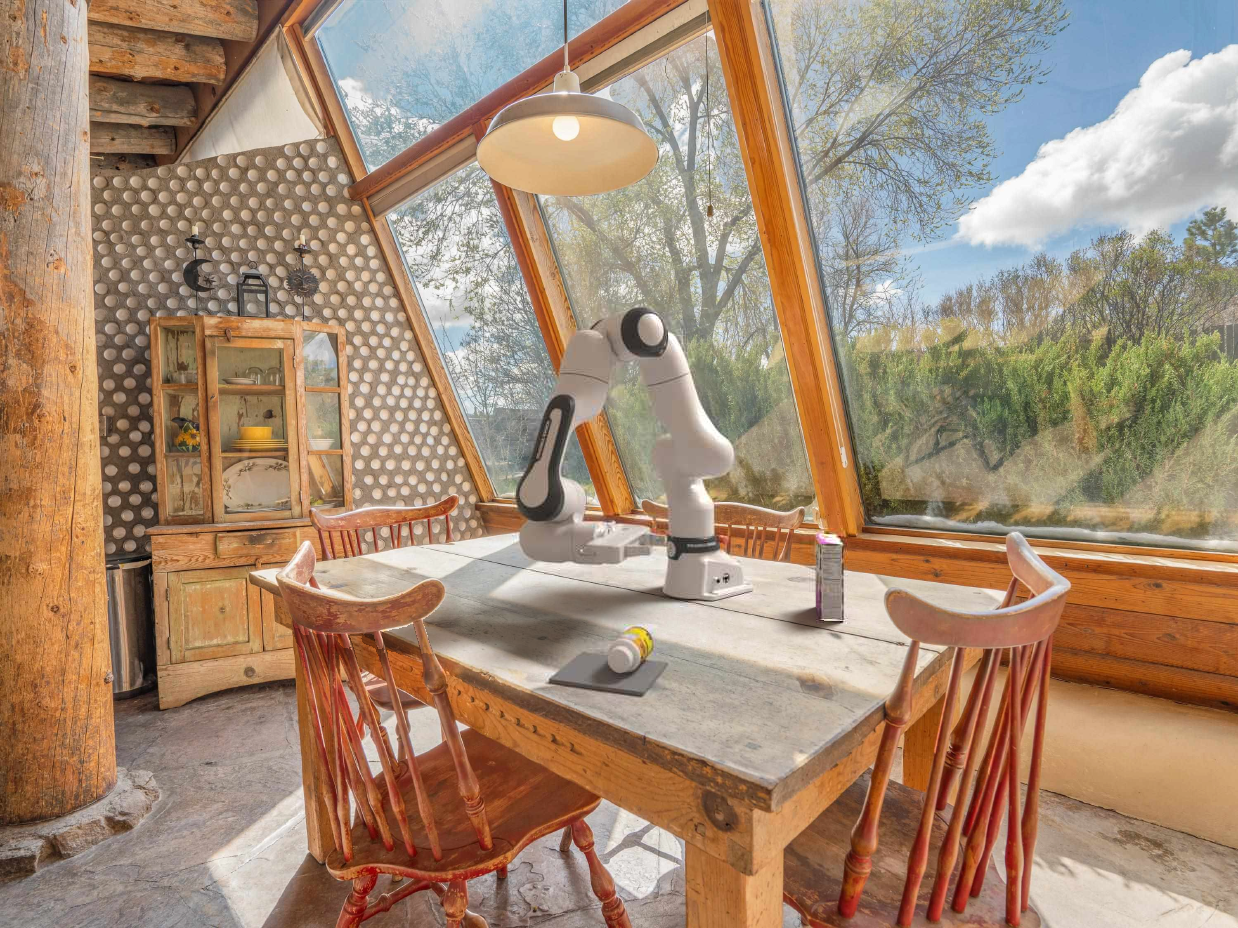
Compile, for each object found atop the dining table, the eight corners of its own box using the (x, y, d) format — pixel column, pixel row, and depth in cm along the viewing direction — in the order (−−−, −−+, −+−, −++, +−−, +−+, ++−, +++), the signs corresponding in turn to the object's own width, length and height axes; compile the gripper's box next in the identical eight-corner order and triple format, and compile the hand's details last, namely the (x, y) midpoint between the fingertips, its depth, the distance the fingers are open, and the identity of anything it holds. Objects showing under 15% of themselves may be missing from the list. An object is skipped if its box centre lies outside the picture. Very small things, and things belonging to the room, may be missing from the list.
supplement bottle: (653, 659, 113) (632, 682, 103) (623, 651, 115) (601, 673, 105) (656, 628, 112) (636, 648, 103) (627, 621, 114) (604, 640, 105)
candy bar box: (813, 606, 145) (814, 533, 144) (837, 607, 144) (837, 534, 143) (819, 621, 134) (819, 542, 133) (844, 622, 133) (845, 543, 132)
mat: (582, 654, 116) (582, 651, 116) (667, 665, 111) (667, 662, 111) (549, 682, 104) (548, 678, 104) (643, 695, 99) (643, 691, 99)
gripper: (571, 537, 123) (641, 539, 118) (611, 519, 142) (672, 520, 137) (573, 570, 123) (642, 574, 118) (612, 547, 142) (673, 549, 137)
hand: (658, 544), depth 128 cm, fingers open, 8 cm apart
